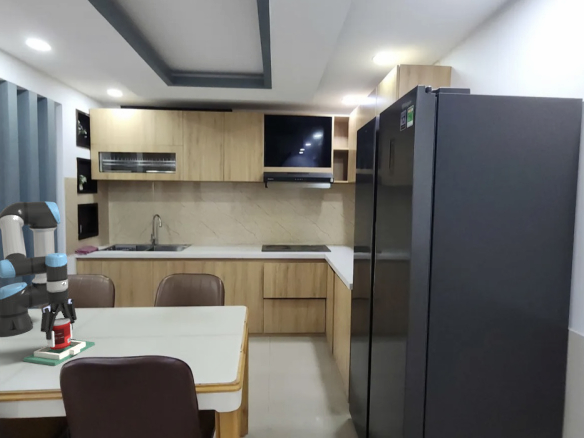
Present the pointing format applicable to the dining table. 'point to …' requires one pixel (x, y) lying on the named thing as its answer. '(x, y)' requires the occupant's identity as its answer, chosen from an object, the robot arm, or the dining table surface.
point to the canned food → (61, 333)
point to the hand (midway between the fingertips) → (60, 342)
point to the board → (58, 353)
